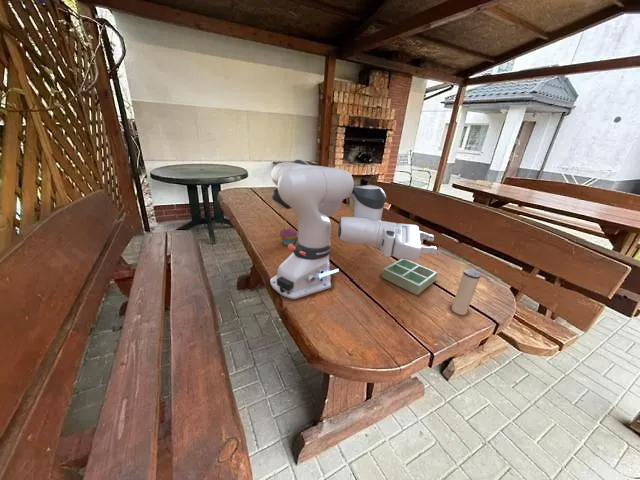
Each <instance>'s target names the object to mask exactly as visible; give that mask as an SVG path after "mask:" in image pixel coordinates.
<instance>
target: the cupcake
mask: <svg viewBox="0 0 640 480" xmlns="http://www.w3.org/2000/svg"><path fill="white" fill-rule="evenodd" d="M284 227H285V228H283V229H281V230H280V231H279V233H278V234H279V238H281V241H282V244H283V245H285V246H288V245H289V244H290V243H291V244H293V245H295V244H294V243H295V242H296V239H298V230H296V229H294V228H292V227H288V225H287V221H286V220H284Z"/></svg>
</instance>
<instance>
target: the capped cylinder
mask: <svg viewBox="0 0 640 480" xmlns="http://www.w3.org/2000/svg"><path fill="white" fill-rule="evenodd" d="M462 272H463V273H462V276H461V279H460V282H459V284H458V287H457V290H456V294H455V295H454V296H455V297H454V299H453V302H452V305H451V310H452V311H453V312H454V313H455V314H458V315H461V316H465V315H467V313H468V311H469V307H470V305H471V302H472V299H473V297H474V294H475V292H476V289H477V286H478V284H479V281H480V279H481V277H482V275H481V273H480V272H479V271H477V270H475V269H471V268H465V269H463V271H462Z"/></svg>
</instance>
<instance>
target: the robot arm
mask: <svg viewBox="0 0 640 480" xmlns="http://www.w3.org/2000/svg"><path fill="white" fill-rule="evenodd" d="M270 177H271V180H272V182H273V183H274V185H275V188H273V189H272V194H271V199H272V201H273V202H274V204H275V205H276V206H278V207H279V208H282V209H286V210H291V209H292V210H293V212H294V215H295V217H296V222H297V233H298V237H297V240H296V241H295V244H291V243H290V244H289V245H287V249H288V250H290V251H292V252H291V253H290V254H289V255H288V256H287V258H286V259H284V261H283V262H281V264H279V266H278V268H277V271H276V272H277V273H276V275H274V276H273V277H271V278H270V280H269V284H270V286H271V287H272V289H273V290H274V291H276V292H277V293H278V294H280V295H281V296H283V297H285V298H288V299H291V300H297V299H300V298H303V297H306V296H309V295H312V294H315V293H320V292H322V291H325V290H328V289H331V287H332V282H331V280H332V276H331V275H332V274H335V273H338V272H339V270H340V269H339V268H336V269H333V270H331V268H330V265H331V263H330V253H331V249H332V248H331V246H332V243H331V232H332V231H331V230H332V222H331V220H330V217H332V216H334V215H336V214H337V213H338V212H339V211H340V208H341V206H342V204H343V202H344V200H345V199H348V198H353V199H354V201H353V202H354V206H353V213H352V214H353V216H341V217H340V218H339V222H338V229H337V237H338V239H339V240H341V241H343V242H344V243H348V244H352V245H356V246H361V247H367V246H368V247H371V248H374V249H377V250H379V251H380V252H381V253H382V255H383V256H384V257H386V258H391V257H394V258H397V259H407V260H409V261H418V260H420V258H421V255H429V254H431V255H437V253H438V247H437V246H434V245H430V246H426V245H422V243H421V242H422V241H421V240H424V241H425V240H426V241H427V242H432V243H433V242H434V241H435V235H433V234H431V233H427V232H425V231H421V230H420V228H419V226H418V225H416V224H409V223H396V222H391V221H385V220H382V216H383V211H384V207H385V204H386V201H387V194H386V193H385V191H384V190H383V189H382V187H380V186H377V185H373V184H369V185H368V184H367V185H357V184H356V185H355V184H354V183H355V182H354V178H353V176H352V174H351V172H349V170H346V169H343V168H337V167H332V166H325V165H324V166H322V165H313V164H312V165H311V164H309V163H308V162H307V161H305V160H301V159H295V160H294V161H293V162H292V161H282V162H279V163H277V164H275V165H274V166H273V167H272V169H271V172H270Z"/></svg>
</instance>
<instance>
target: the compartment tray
mask: <svg viewBox="0 0 640 480" xmlns="http://www.w3.org/2000/svg"><path fill="white" fill-rule="evenodd" d="M437 276H438V272H437V271H435V270H433V269H430V268H429V267H425V266H423V265H421V264H418V263H416V262H414V261H413V260H407V259H401V258H399V259H398V260H396V261H395V262H393V263H391V264H389V265H388V266H386V267H384V268H383V269H382V275H381V278H382V279H384V280H386V281H388V282H390V283H392V284H394V285H396V286H398V287H399V288H400V287H401V288H402V289H404V290H406V291H408V292H410V293H411V294H414V295H415V296H418V295H420V294H421V293H422V292H424V290H426V289H427V288H428V287H429V286H431V285H432V284H433V283H434V282H436V278H437Z"/></svg>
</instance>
